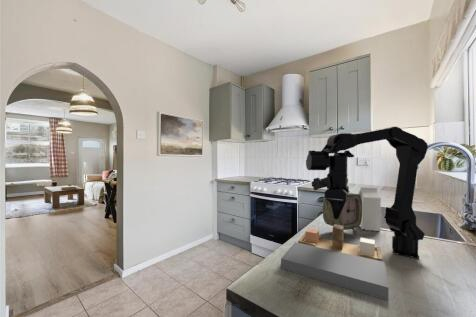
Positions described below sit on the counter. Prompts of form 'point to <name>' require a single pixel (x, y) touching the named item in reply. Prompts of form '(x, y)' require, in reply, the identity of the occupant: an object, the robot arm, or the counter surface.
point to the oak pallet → (345, 249)
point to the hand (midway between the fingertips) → (337, 215)
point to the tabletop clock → (345, 212)
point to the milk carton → (370, 208)
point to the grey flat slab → (338, 269)
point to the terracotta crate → (312, 236)
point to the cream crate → (367, 246)
